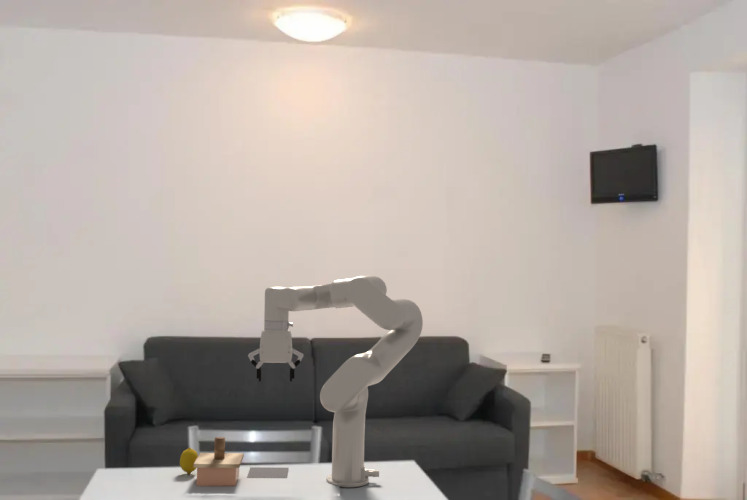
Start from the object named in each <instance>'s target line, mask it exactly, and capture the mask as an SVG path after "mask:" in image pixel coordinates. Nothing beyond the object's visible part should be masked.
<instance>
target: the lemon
mask: <svg viewBox="0 0 747 500" xmlns="http://www.w3.org/2000/svg"><path fill="white" fill-rule="evenodd" d="M198 456H199V455H198V452H197V451H196V450H194V449H193V448H192V447H188V448H187V449H185V450H183V452H182V453H181V454H180V456H179V457H180V459H179V466H180V468H181V470H182V471H183V472H185V473H186V474H187V475H190V474H191V473H192V472H195V470H197V468H193V464H194V462H195V461H196V459H197V457H198Z"/></svg>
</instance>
